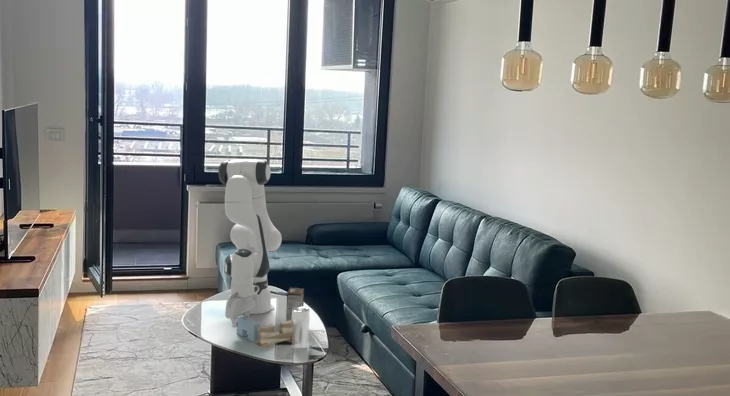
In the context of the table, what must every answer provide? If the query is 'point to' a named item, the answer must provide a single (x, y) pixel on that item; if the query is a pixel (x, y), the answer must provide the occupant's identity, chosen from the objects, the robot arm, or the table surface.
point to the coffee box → (294, 300)
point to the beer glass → (300, 327)
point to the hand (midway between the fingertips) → (240, 323)
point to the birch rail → (274, 334)
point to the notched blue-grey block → (247, 328)
